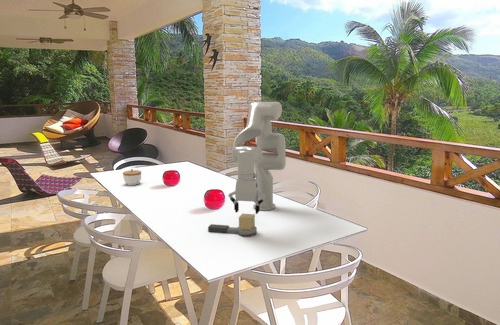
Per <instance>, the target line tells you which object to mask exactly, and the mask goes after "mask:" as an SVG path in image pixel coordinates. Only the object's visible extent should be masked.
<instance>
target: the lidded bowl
mask: <svg viewBox="0 0 500 325" xmlns="http://www.w3.org/2000/svg"><path fill="white" fill-rule="evenodd" d="M122 175H123V177H122V178H123V181H124V182H125V184H127V186H130V185H132V186H137V185H136V184H138V185H139V183H140V182H141V180H142V170H139V169H137V170H136V169H130V170H126V171H122Z"/></svg>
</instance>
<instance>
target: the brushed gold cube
mask: <svg viewBox="0 0 500 325" xmlns="http://www.w3.org/2000/svg"><path fill="white" fill-rule="evenodd" d="M255 216H256V213H241V214H240V215H239V216H238V227H239V230H247V231H252V230H253V228H254V227H256V221H255V220H256V219H255Z"/></svg>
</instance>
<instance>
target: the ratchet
mask: <svg viewBox="0 0 500 325" xmlns="http://www.w3.org/2000/svg"><path fill="white" fill-rule="evenodd" d="M207 231H208V233H219V234H235V235H238V236H240V237H244V238H249V237H251V238H252V237H254V236H256V235H257V233H258V231H257V227H256V226H255V227H254V228H253V230H252V231H247V230H239V226H238V227H235V226H233V227H231V226H229V225H225V224H215V223H214V224H213V223H211V224H210V225H208V227H207Z"/></svg>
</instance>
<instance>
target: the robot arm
mask: <svg viewBox="0 0 500 325" xmlns="http://www.w3.org/2000/svg"><path fill="white" fill-rule="evenodd" d="M248 108H249V110H248V115H247V120H246V126H245V128H244V129H242V130H241V131H240V132H239V133H238V134H237V135H236V136H235V138H234V140H233V143H232V148H231V159H232V161H233V162H235V163H237V179H236V181H235V190H234V191H232V192H230V193H229V194H228V198H229V199H230V201H231V203H233V205H234V207H233V210H234V213H238V212H240V211H239V210H240V209H239V208H240V207H239V201H241V202H254V204H253V209H254V210H255V215H258V214H259V213H260V211H272V210H275V209H276V208H277V207H276V204H275V203H274V178H273V177H274V176H273V175H272V173H271V171H270V170H272V171H273V170H274V171H279V170H280V171H282V170H285V168H286V164H287V163H286V161H287V160H286V137H285V135H284V134H283V133H279V132H273V130H272V129H273V128H272V127H273V125H272V124H273V123H272V122H271V121H277V120H278V119H279V118H281V115H282V112H283V107H282V104H281V102H280V101H254V102H251V103H250V104H249V107H248ZM255 138H256V146H249V145H248V146H247V145H246V146H245V145H244V146H243V144H244V143H245V142H247V141H249V140H251V139H252V140H253V139H255ZM265 151H268V152H265ZM269 151H276V152H269Z"/></svg>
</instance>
